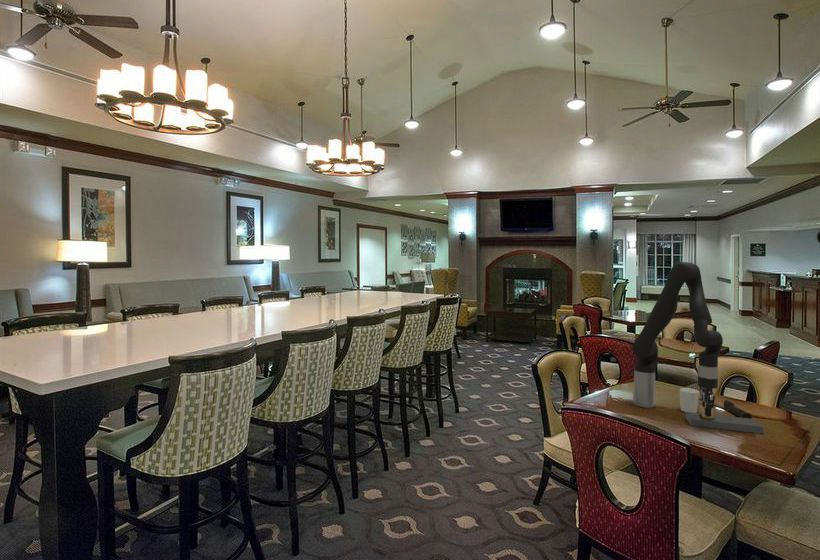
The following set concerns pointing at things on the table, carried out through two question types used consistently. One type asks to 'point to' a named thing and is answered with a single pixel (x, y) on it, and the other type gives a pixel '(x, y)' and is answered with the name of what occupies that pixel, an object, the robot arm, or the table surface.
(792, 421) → the table surface
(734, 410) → the hand tool
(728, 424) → the post plate
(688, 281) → the robot arm
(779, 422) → the table surface
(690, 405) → the white cup
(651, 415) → the table surface
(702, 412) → the brass block
